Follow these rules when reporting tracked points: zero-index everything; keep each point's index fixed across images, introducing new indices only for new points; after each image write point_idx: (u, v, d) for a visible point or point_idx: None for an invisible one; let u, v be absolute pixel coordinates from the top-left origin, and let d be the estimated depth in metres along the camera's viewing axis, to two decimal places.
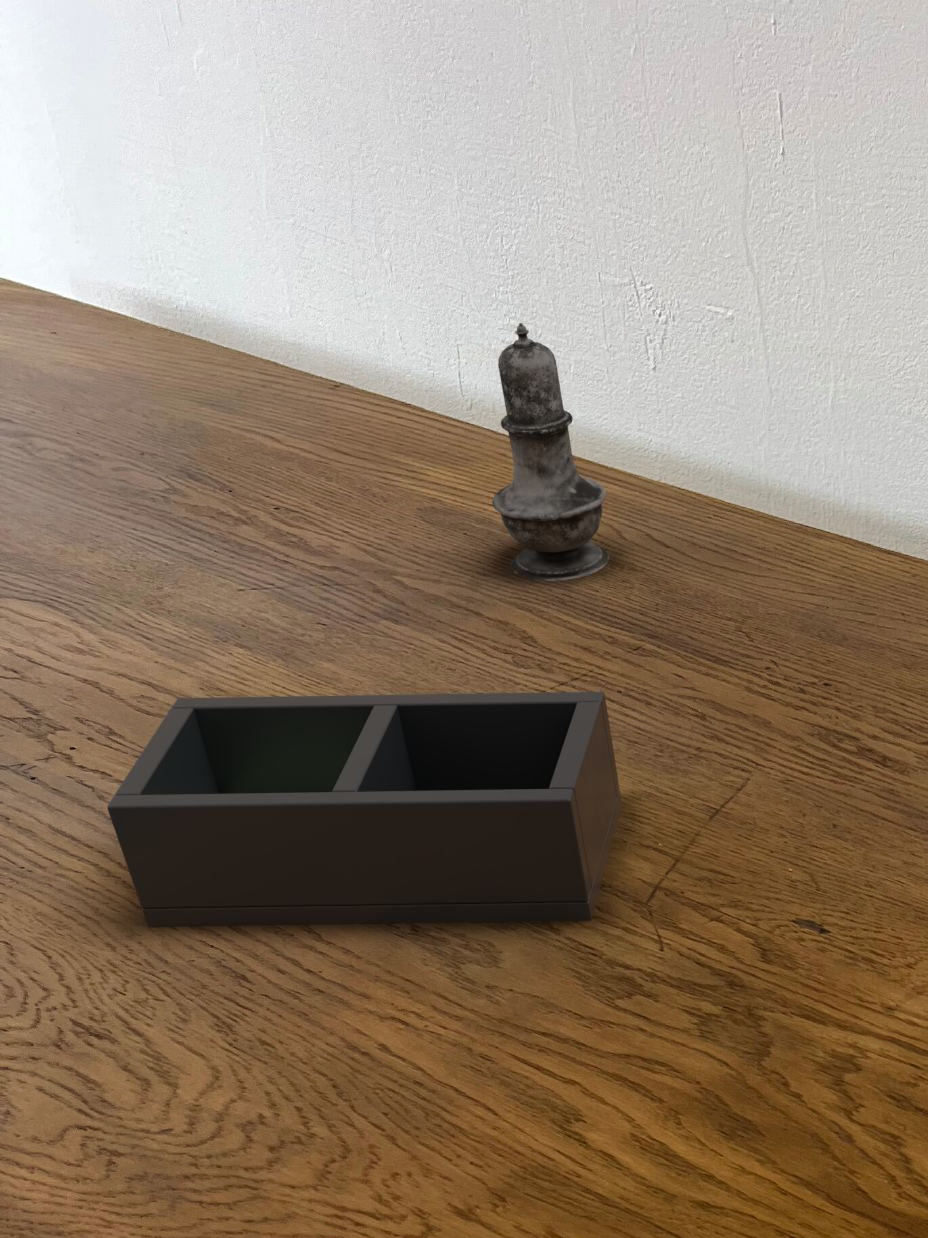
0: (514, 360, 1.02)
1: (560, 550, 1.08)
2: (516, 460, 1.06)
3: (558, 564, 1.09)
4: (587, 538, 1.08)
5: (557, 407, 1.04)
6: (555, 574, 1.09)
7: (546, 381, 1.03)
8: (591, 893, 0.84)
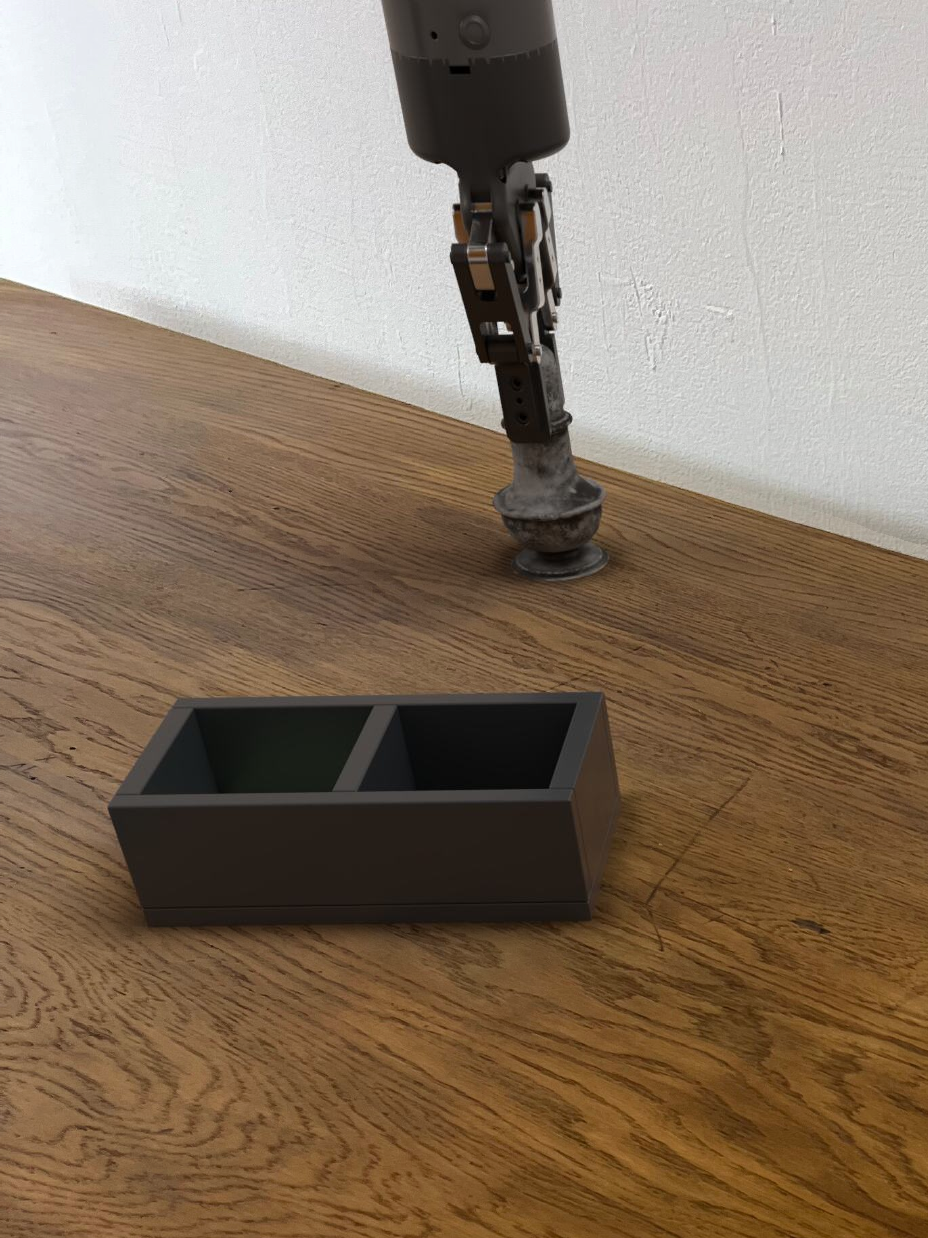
0: None
1: (560, 550, 1.08)
2: (516, 460, 1.06)
3: (558, 564, 1.09)
4: (587, 538, 1.08)
5: (557, 407, 1.04)
6: (555, 574, 1.09)
7: (546, 381, 1.03)
8: (591, 893, 0.84)
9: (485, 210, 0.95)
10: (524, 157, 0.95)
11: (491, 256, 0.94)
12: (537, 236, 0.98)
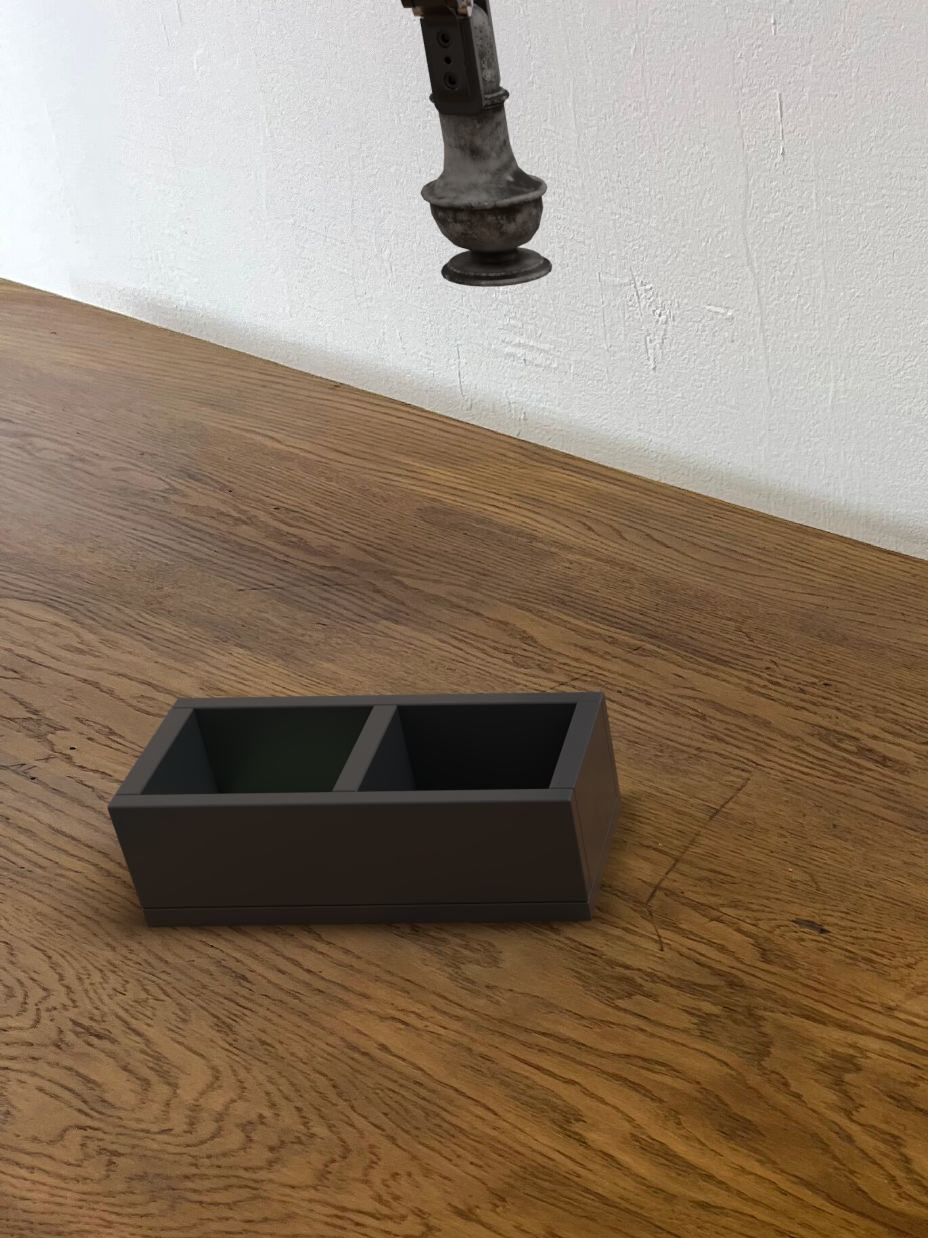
0: None
1: (496, 248, 0.98)
2: (446, 141, 0.95)
3: (494, 267, 0.99)
4: (526, 236, 0.98)
5: (492, 78, 0.94)
6: (490, 276, 0.98)
7: (479, 44, 0.93)
8: (591, 893, 0.84)
9: None
10: None
11: None
12: None
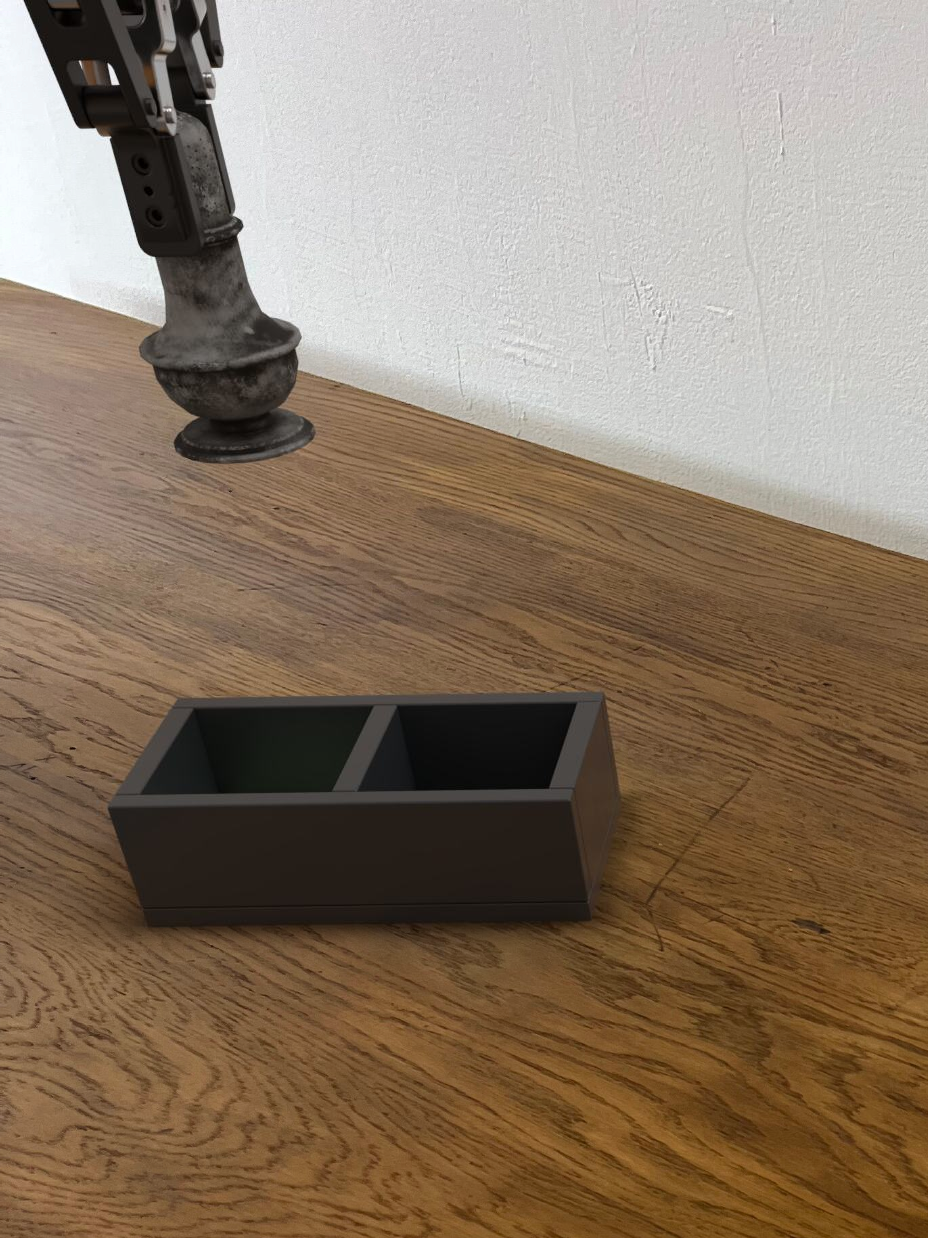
0: None
1: (237, 416, 0.77)
2: (164, 286, 0.75)
3: (238, 437, 0.78)
4: (275, 400, 0.78)
5: (217, 207, 0.74)
6: (231, 451, 0.78)
7: (196, 166, 0.73)
8: (591, 893, 0.84)
9: None
10: None
11: None
12: None
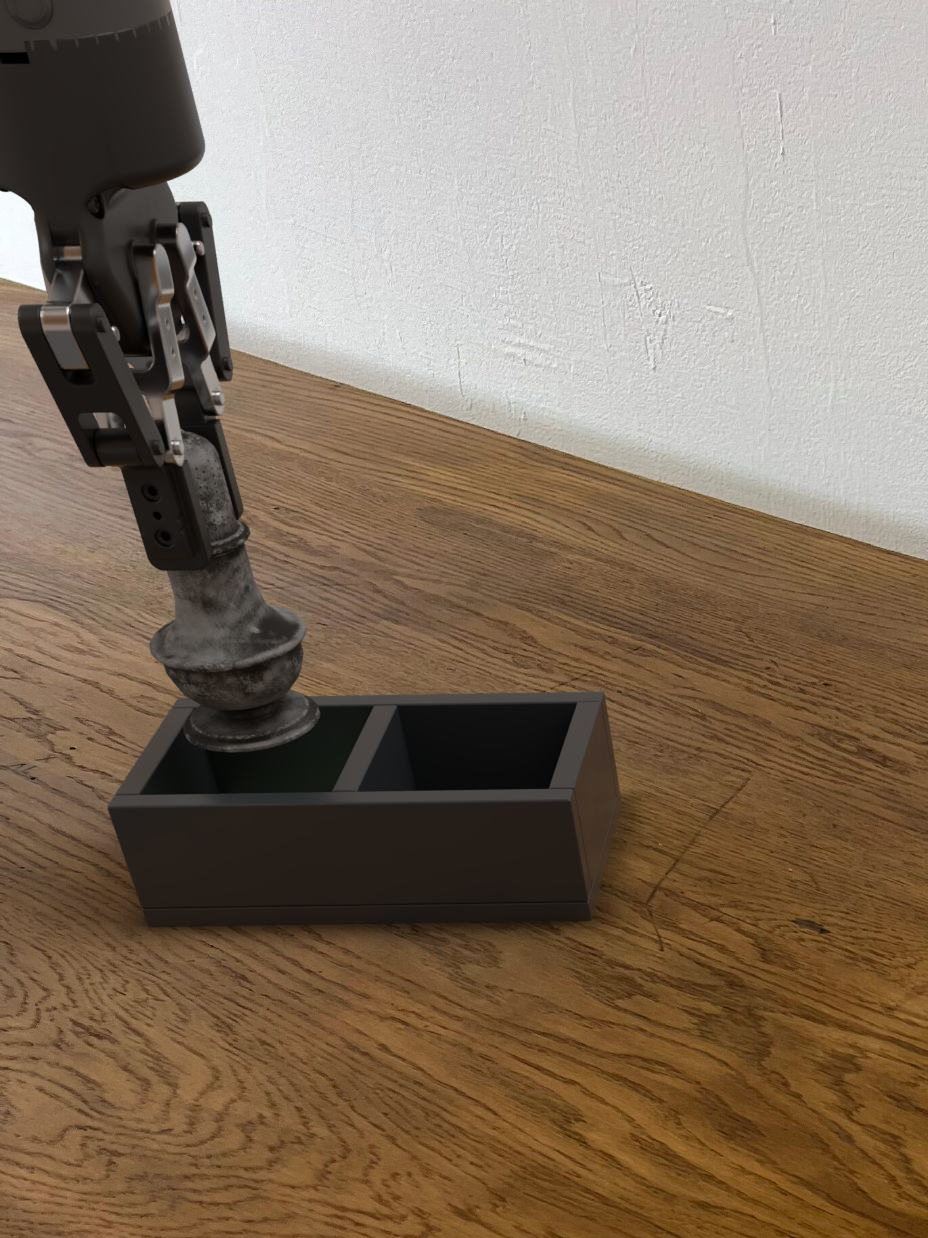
0: None
1: (243, 708, 0.80)
2: (174, 590, 0.78)
3: (245, 725, 0.81)
4: (280, 691, 0.80)
5: (224, 520, 0.77)
6: (238, 739, 0.81)
7: (203, 486, 0.75)
8: (591, 893, 0.84)
9: (74, 257, 0.67)
10: (126, 183, 0.67)
11: (75, 323, 0.66)
12: (161, 292, 0.70)
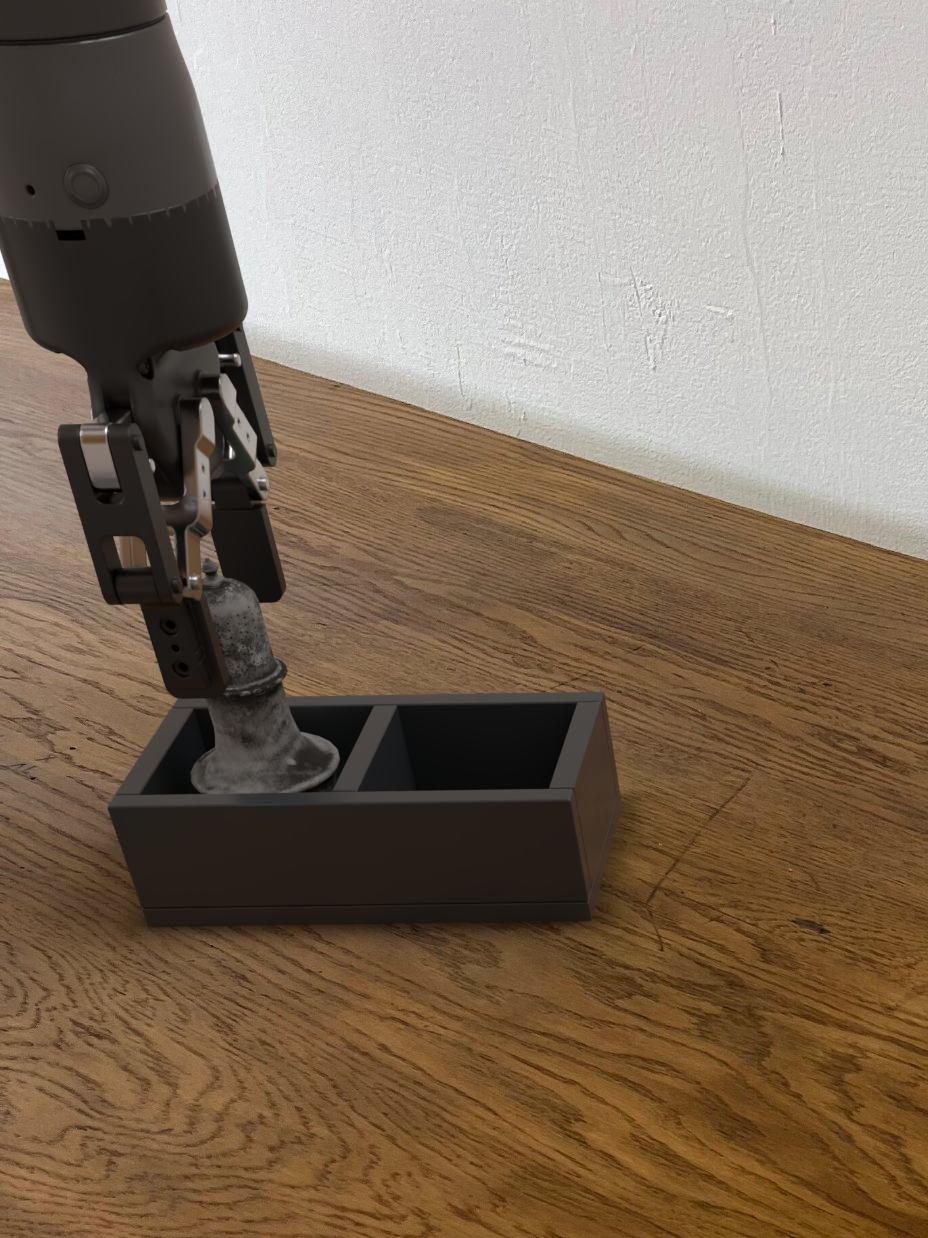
0: None
1: None
2: (214, 725, 0.82)
3: None
4: None
5: (263, 661, 0.80)
6: None
7: (244, 631, 0.79)
8: (591, 893, 0.84)
9: (124, 404, 0.71)
10: (175, 345, 0.70)
11: (112, 435, 0.69)
12: (202, 435, 0.73)
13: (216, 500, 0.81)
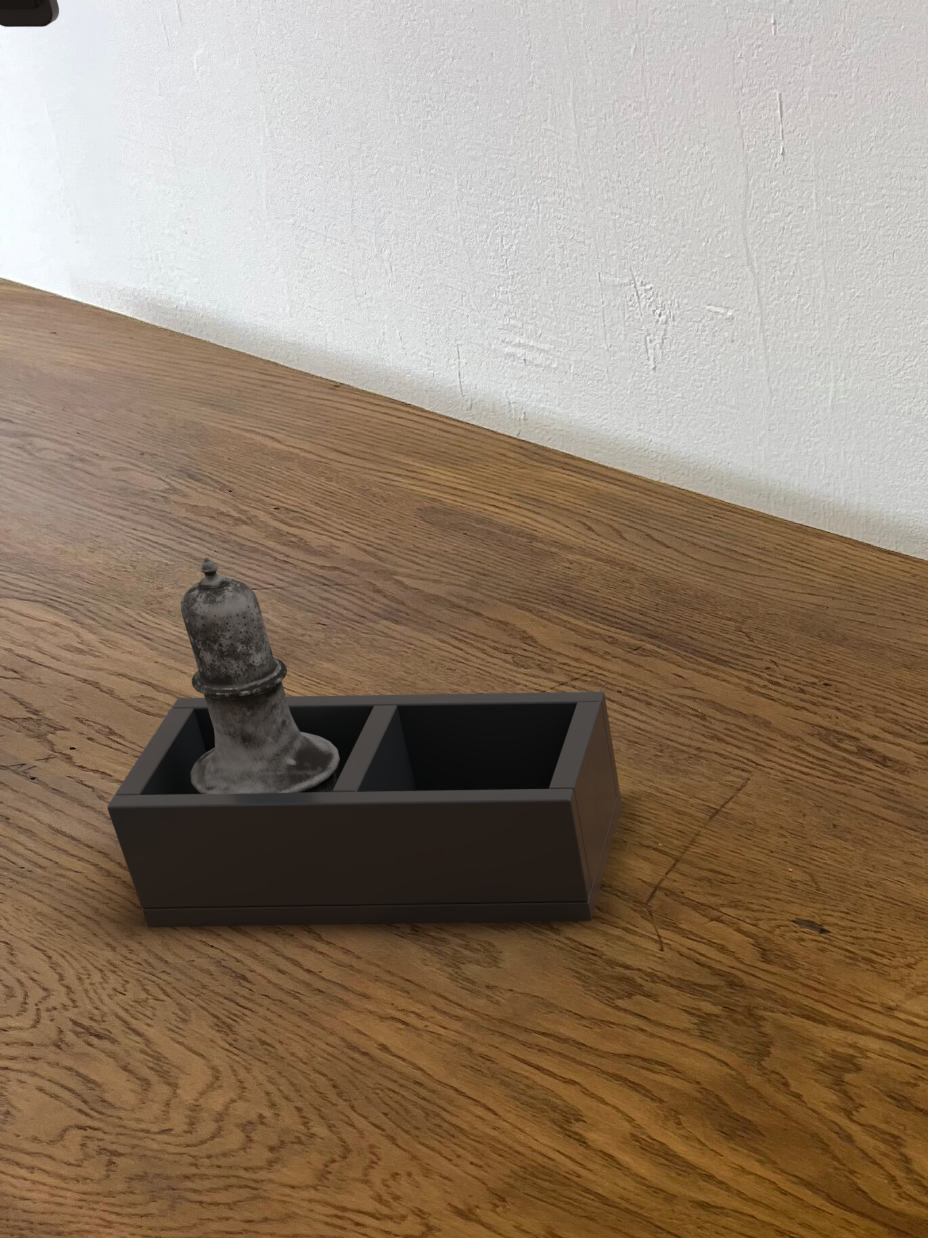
0: (198, 607, 0.78)
1: None
2: (214, 725, 0.82)
3: None
4: None
5: (262, 661, 0.80)
6: None
7: (243, 630, 0.79)
8: (591, 893, 0.84)
9: None
10: None
11: None
12: None
13: None
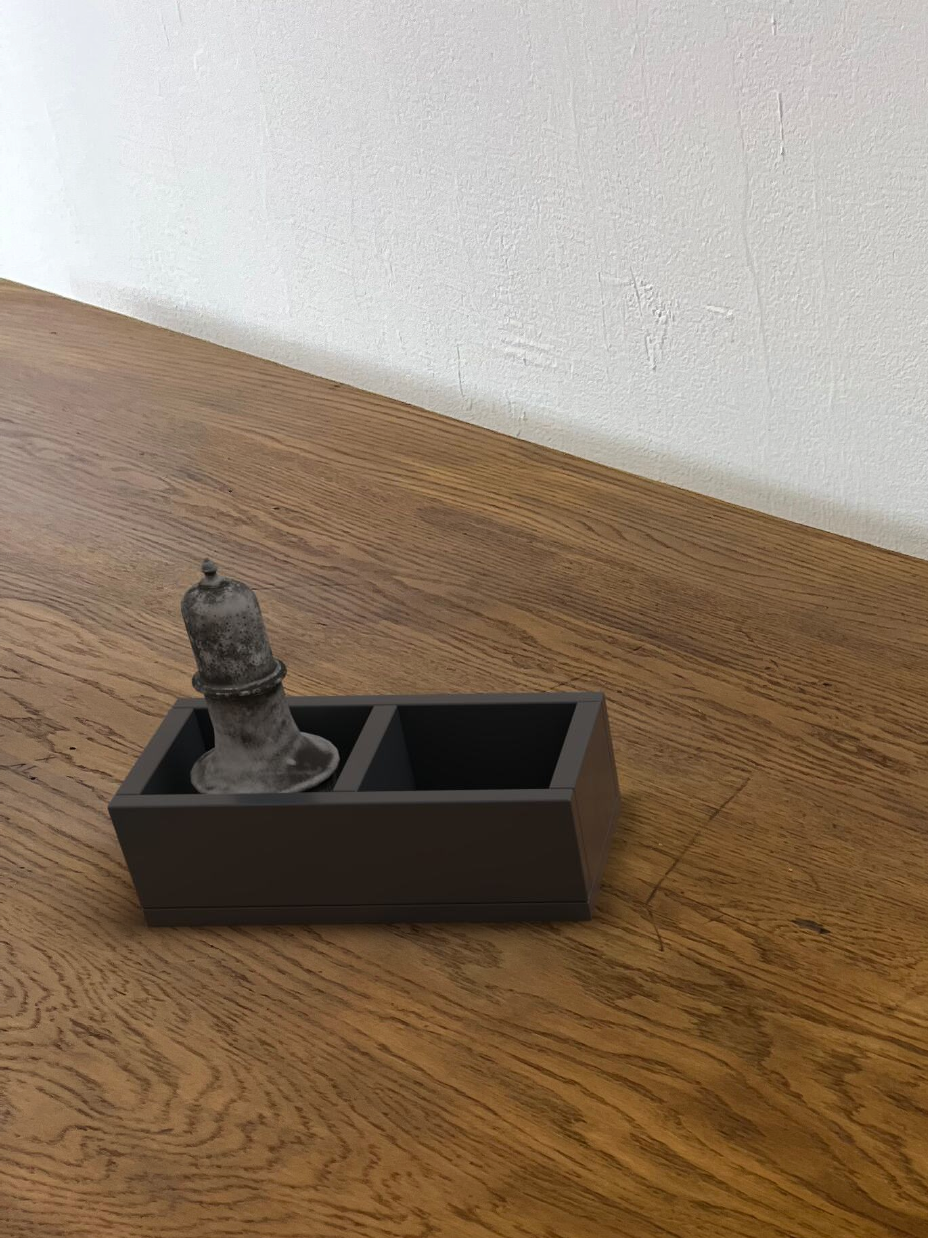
0: (198, 607, 0.78)
1: None
2: (214, 725, 0.82)
3: None
4: None
5: (262, 661, 0.80)
6: None
7: (243, 631, 0.79)
8: (591, 893, 0.84)
9: None
10: None
11: None
12: None
13: None
